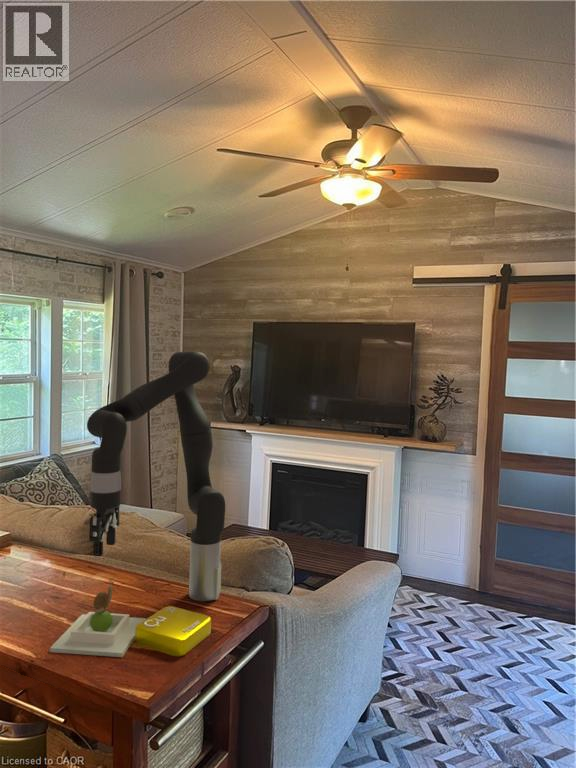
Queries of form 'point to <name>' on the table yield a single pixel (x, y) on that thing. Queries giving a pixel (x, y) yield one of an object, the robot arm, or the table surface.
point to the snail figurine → (102, 611)
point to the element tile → (173, 631)
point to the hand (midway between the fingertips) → (104, 550)
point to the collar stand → (98, 637)
